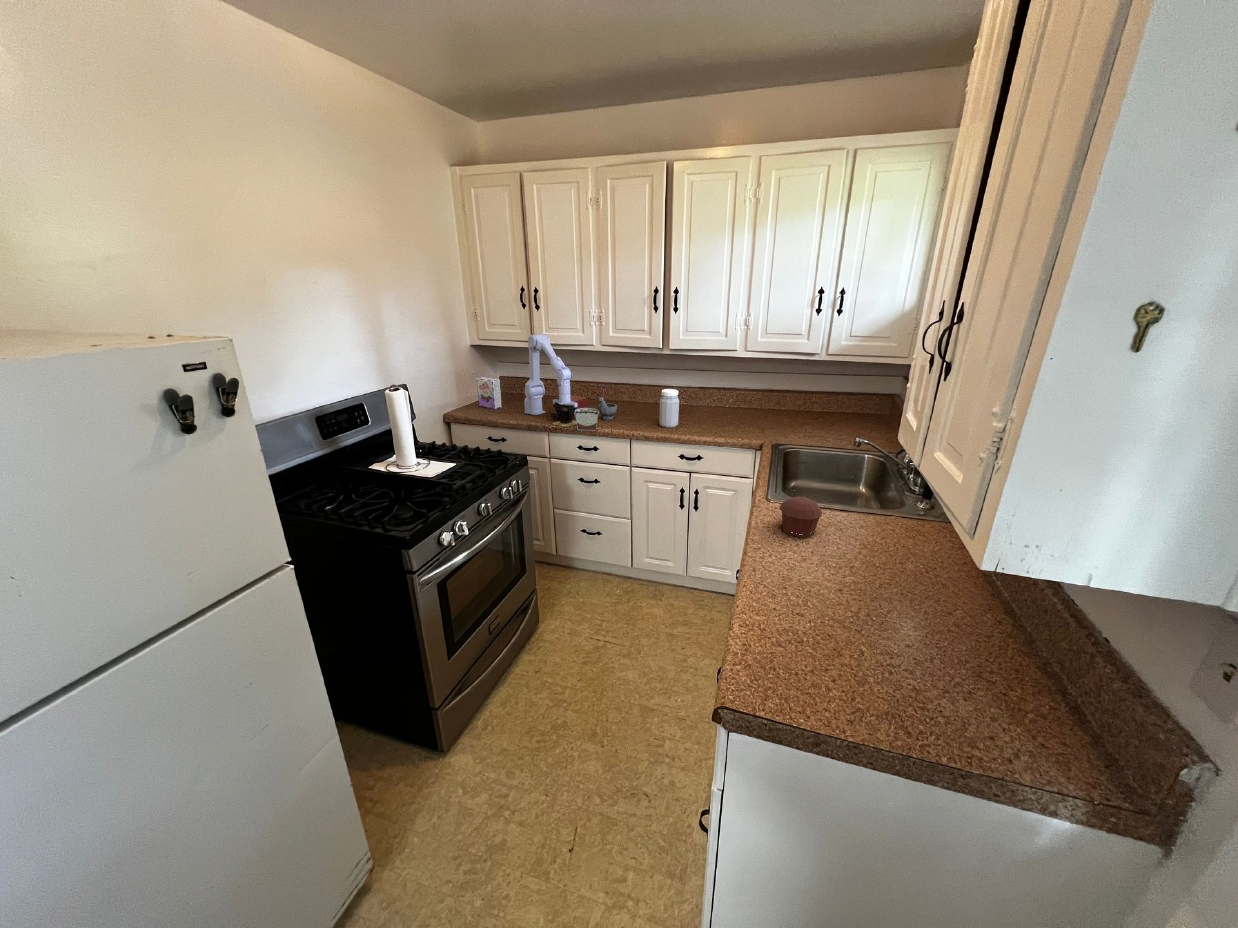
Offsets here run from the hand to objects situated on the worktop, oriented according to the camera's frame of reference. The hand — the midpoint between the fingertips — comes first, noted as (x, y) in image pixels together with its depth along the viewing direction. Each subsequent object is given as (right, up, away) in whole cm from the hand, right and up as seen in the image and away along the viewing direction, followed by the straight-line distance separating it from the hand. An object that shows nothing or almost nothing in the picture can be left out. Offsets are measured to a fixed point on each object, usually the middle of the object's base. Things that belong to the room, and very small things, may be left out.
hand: (565, 418), depth 246 cm
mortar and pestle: (+21, +1, +10) cm, 23 cm away
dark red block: (+2, +4, +17) cm, 18 cm away
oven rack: (-3, +2, +10) cm, 11 cm away
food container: (+12, -6, -7) cm, 15 cm away
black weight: (0, -2, +1) cm, 2 cm away
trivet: (0, -2, +1) cm, 2 cm away
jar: (+53, -4, -2) cm, 53 cm away
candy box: (-48, +10, +33) cm, 59 cm away
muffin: (+80, -43, -104) cm, 138 cm away
